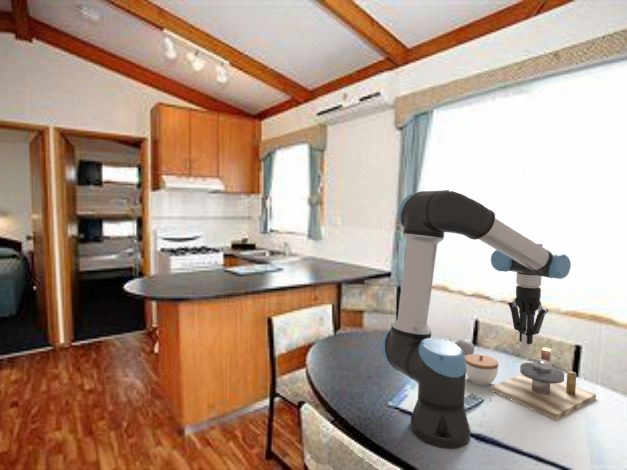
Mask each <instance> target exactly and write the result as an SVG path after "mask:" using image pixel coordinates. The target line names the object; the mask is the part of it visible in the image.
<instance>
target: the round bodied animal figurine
mask: <svg viewBox="0 0 627 470" xmlns="http://www.w3.org/2000/svg"><path fill="white" fill-rule="evenodd" d="M448 341H450V342H452V343H454V344H456V345H458V346H459V347H460V348H461V349H462V350H463V352H464V354H465V356H466V355H469V354H475V353H474V352H475V345H474V344H473V342H472V341H471V340H469V339H468V338H459V339H458V340H457V341H456V342H455V341H452V339H451V338H449V340H448Z"/></svg>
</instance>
